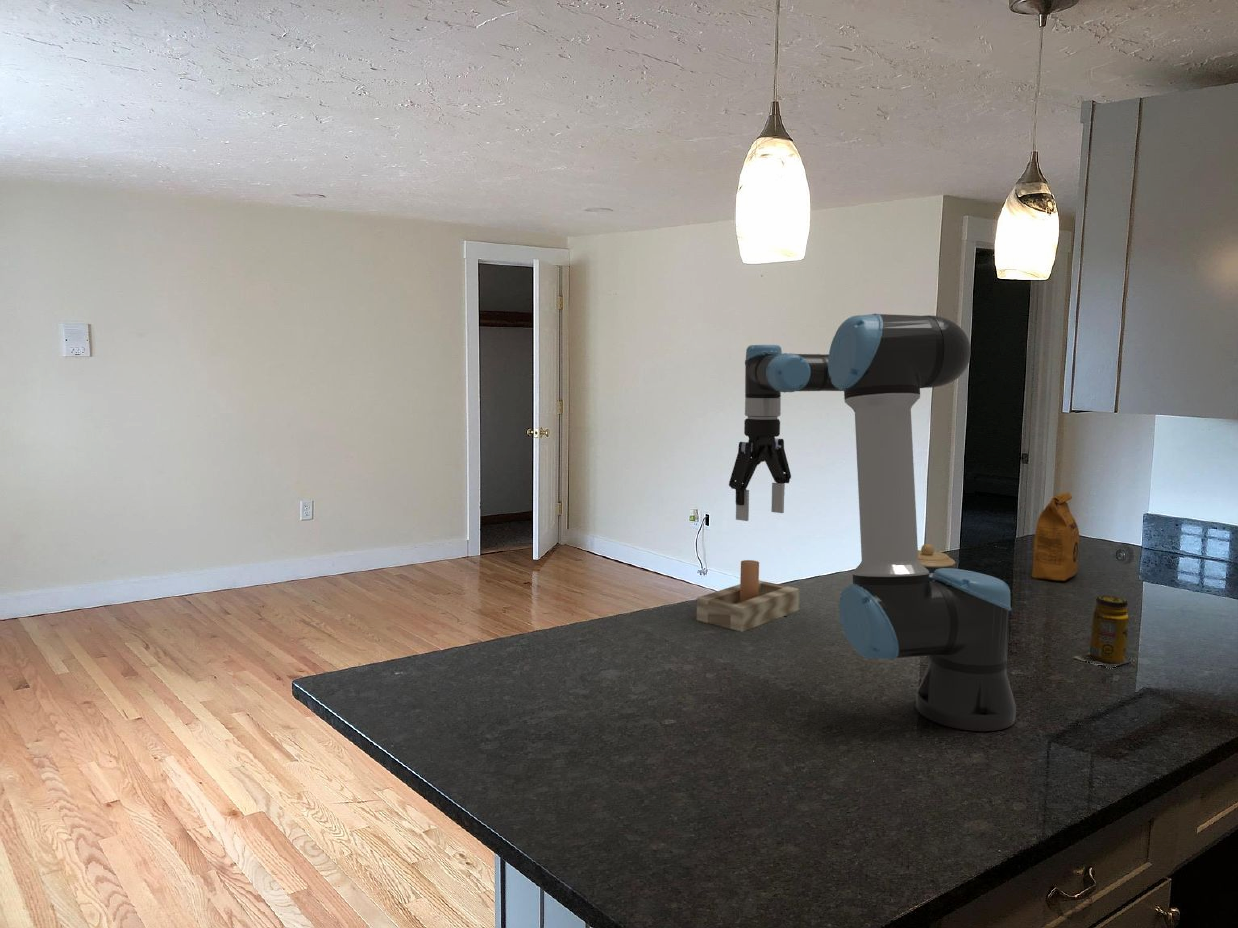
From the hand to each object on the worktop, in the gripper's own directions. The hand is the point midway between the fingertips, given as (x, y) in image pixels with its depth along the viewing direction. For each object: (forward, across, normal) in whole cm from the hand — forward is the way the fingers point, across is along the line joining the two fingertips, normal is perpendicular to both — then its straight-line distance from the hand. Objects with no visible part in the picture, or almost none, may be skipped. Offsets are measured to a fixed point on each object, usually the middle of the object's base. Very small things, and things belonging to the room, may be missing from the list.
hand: (760, 516), depth 196 cm
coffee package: (+23, -85, +35) cm, 95 cm away
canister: (+23, -22, +28) cm, 42 cm away
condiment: (+24, -24, +63) cm, 71 cm away
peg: (+23, -1, -3) cm, 23 cm away
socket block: (+23, -1, -3) cm, 23 cm away
